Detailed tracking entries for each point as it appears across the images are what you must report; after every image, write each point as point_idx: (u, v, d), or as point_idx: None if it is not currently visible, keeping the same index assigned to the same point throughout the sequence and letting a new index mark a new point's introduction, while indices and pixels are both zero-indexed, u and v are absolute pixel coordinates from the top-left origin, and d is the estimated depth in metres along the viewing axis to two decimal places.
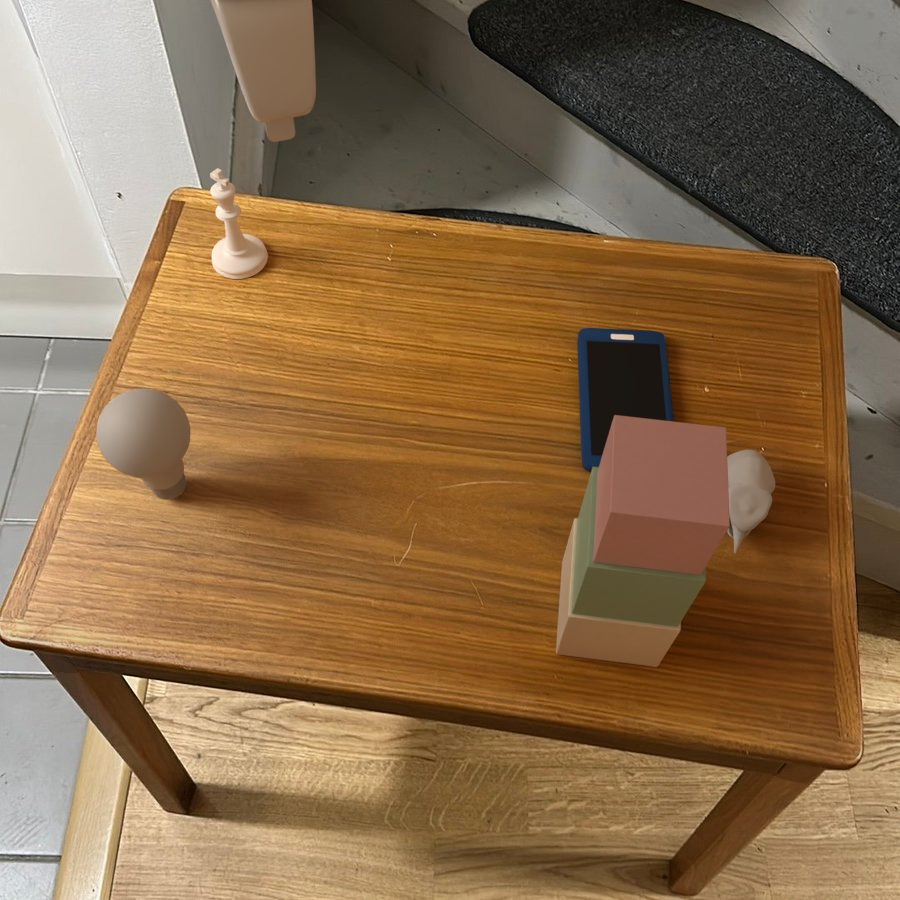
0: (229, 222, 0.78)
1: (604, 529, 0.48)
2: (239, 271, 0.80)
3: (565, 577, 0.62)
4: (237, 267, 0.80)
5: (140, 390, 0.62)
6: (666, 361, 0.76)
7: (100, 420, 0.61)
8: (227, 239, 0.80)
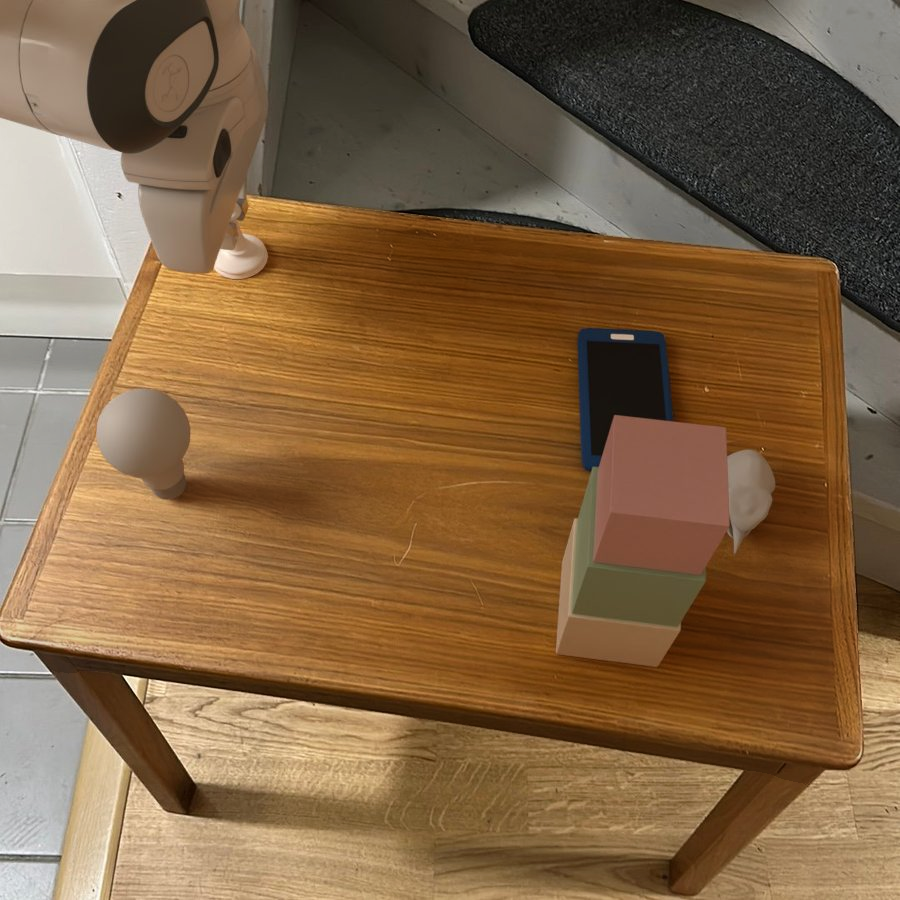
0: (229, 222, 0.78)
1: (604, 529, 0.48)
2: (239, 271, 0.80)
3: (565, 577, 0.62)
4: (237, 267, 0.80)
5: (140, 390, 0.62)
6: (666, 361, 0.76)
7: (100, 420, 0.61)
8: None
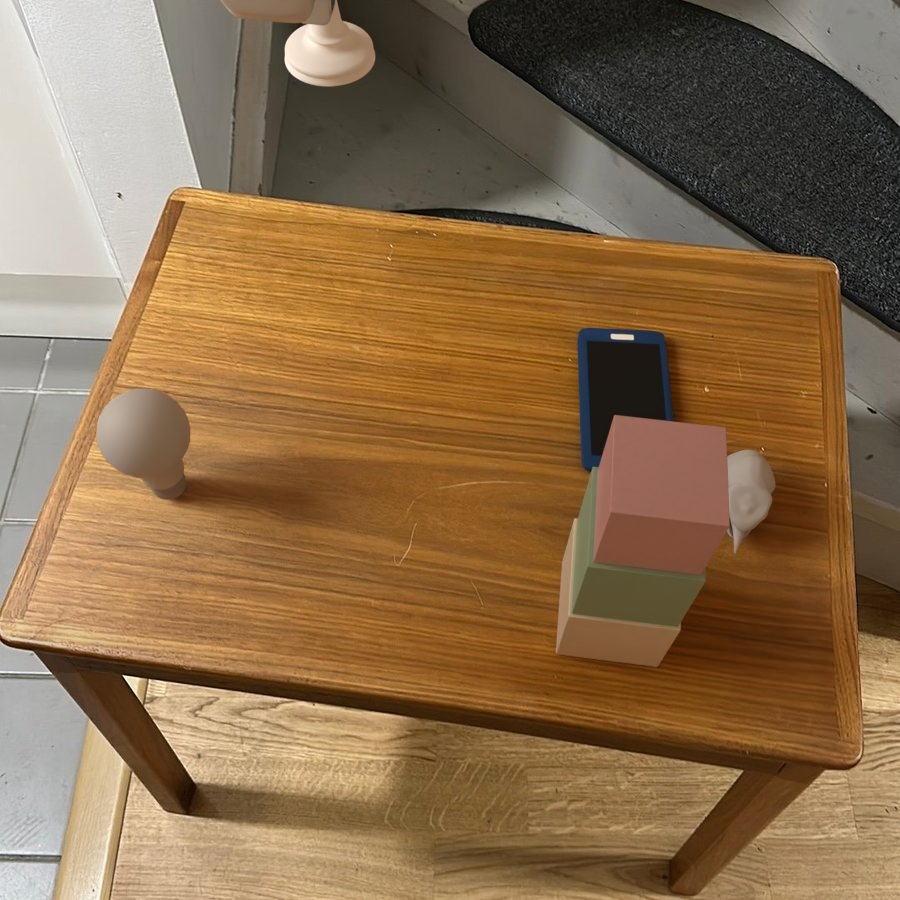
0: None
1: (604, 529, 0.48)
2: (333, 72, 0.49)
3: (565, 577, 0.62)
4: (329, 65, 0.49)
5: (140, 390, 0.62)
6: (666, 361, 0.76)
7: (100, 420, 0.61)
8: None
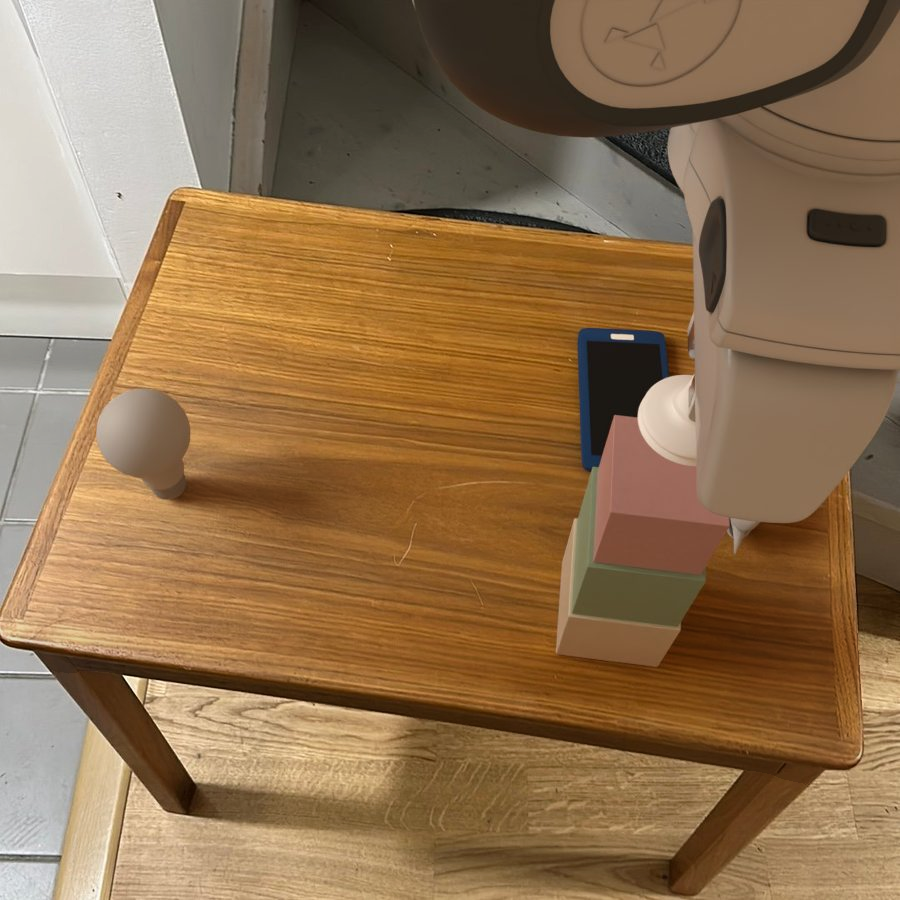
0: None
1: (604, 529, 0.48)
2: None
3: (565, 577, 0.62)
4: None
5: (140, 390, 0.62)
6: (666, 361, 0.76)
7: (100, 420, 0.61)
8: None
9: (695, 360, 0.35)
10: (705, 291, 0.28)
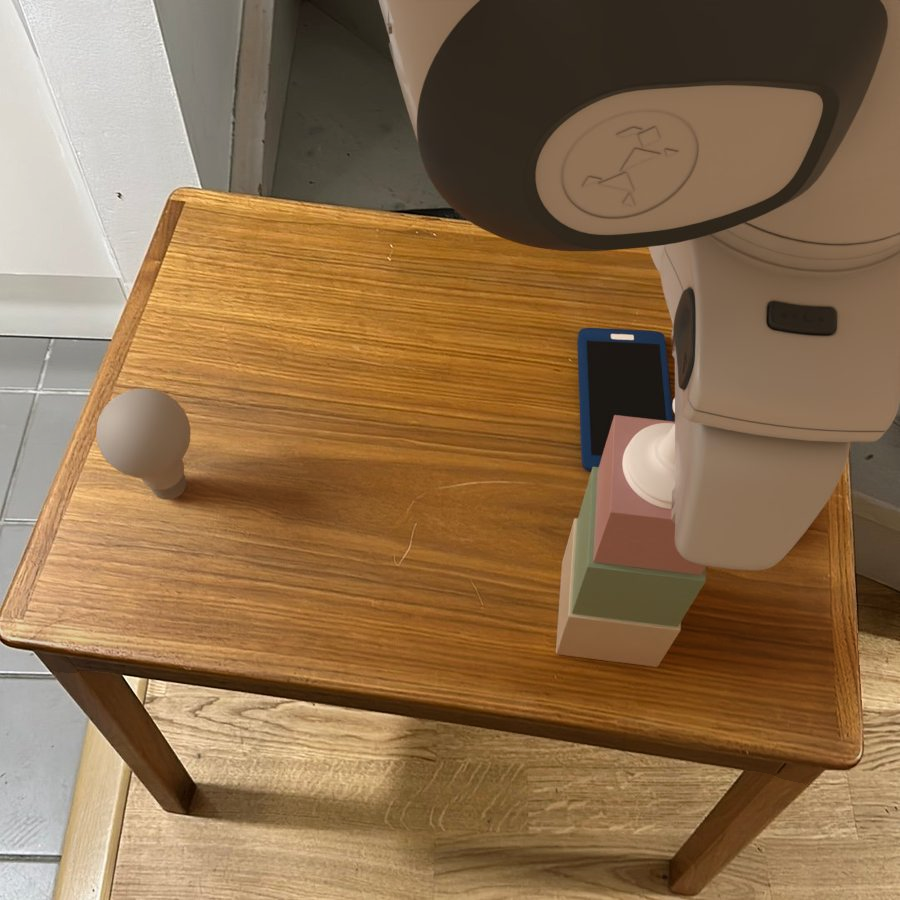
0: None
1: (604, 529, 0.48)
2: None
3: (565, 577, 0.62)
4: None
5: (140, 390, 0.62)
6: (666, 361, 0.76)
7: (100, 420, 0.61)
8: (672, 446, 0.45)
9: (675, 417, 0.38)
10: (678, 369, 0.31)
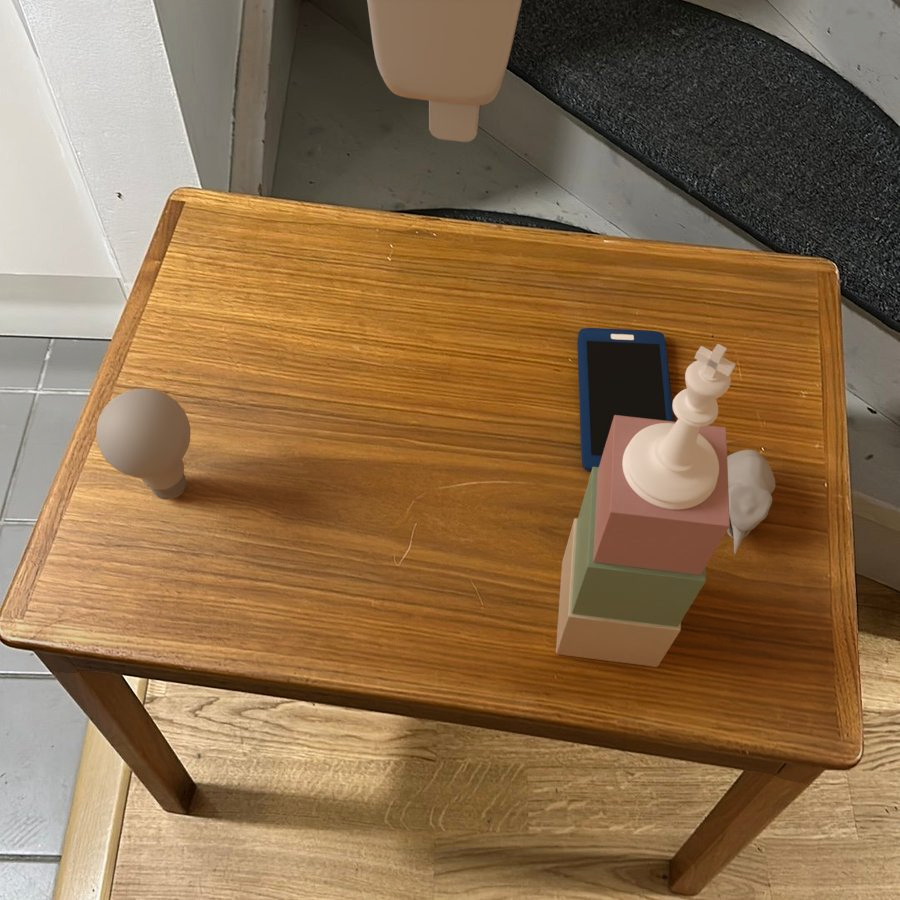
0: None
1: (604, 529, 0.48)
2: (685, 498, 0.46)
3: (565, 577, 0.62)
4: (682, 491, 0.46)
5: (140, 390, 0.62)
6: (666, 361, 0.76)
7: (100, 420, 0.61)
8: (672, 446, 0.45)
9: None
10: None
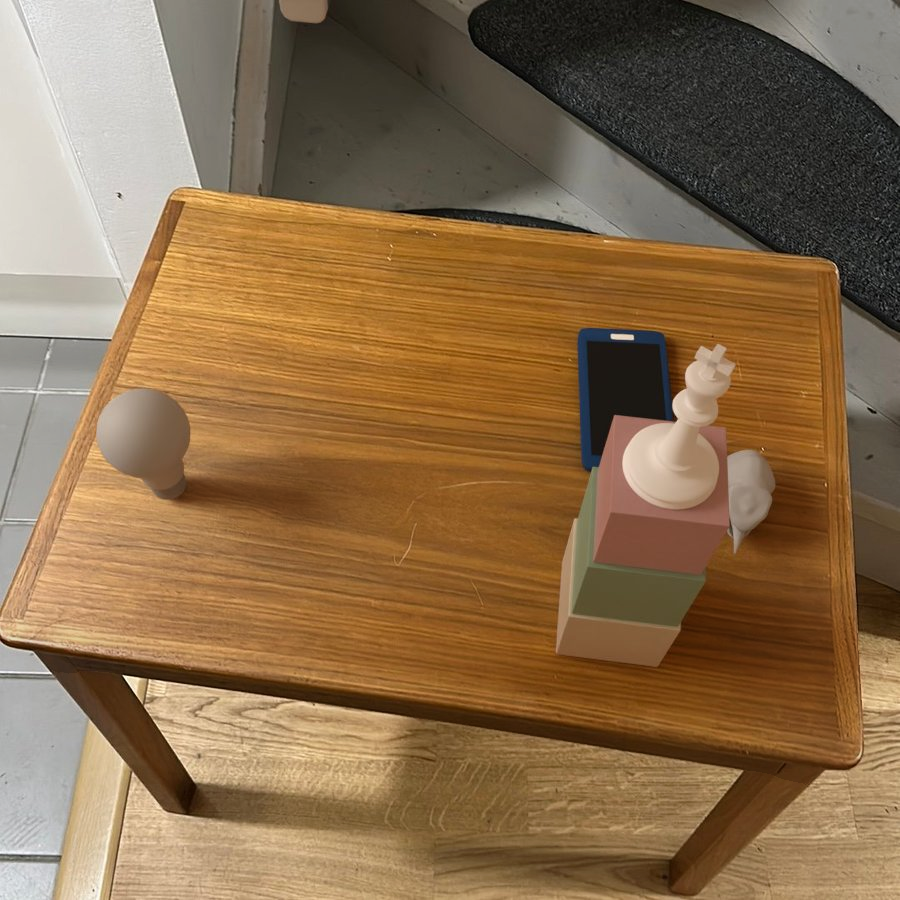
0: None
1: (604, 529, 0.48)
2: (685, 498, 0.46)
3: (565, 577, 0.62)
4: (682, 491, 0.46)
5: (140, 390, 0.62)
6: (666, 361, 0.76)
7: (100, 420, 0.61)
8: (672, 446, 0.45)
9: None
10: None
